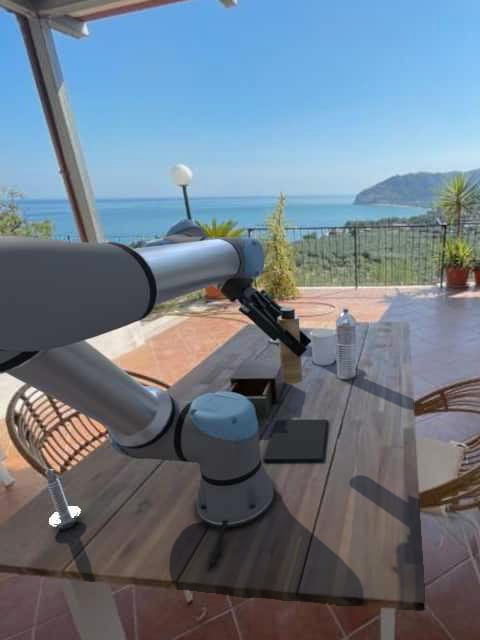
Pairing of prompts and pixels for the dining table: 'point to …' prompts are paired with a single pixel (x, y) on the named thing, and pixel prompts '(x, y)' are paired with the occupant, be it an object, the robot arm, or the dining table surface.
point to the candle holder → (323, 346)
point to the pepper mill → (288, 359)
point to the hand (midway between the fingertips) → (305, 348)
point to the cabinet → (260, 373)
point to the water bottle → (346, 346)
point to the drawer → (256, 395)
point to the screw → (60, 504)
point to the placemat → (297, 441)
